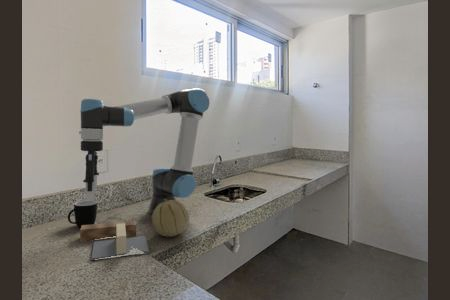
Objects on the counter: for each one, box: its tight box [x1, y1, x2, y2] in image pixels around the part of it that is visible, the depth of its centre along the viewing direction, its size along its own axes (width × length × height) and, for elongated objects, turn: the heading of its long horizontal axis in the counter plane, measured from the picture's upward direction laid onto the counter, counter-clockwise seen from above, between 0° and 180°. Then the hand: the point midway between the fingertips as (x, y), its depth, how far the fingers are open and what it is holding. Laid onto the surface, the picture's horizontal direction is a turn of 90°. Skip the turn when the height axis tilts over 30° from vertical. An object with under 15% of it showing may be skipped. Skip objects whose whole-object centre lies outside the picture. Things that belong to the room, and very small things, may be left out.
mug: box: [67, 199, 98, 228], centre depth 114 cm, size 12×9×10 cm
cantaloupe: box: [151, 199, 190, 238], centre depth 108 cm, size 15×15×15 cm
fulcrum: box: [90, 223, 150, 261], centre depth 95 cm, size 18×14×7 cm
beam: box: [79, 220, 137, 243], centre depth 105 cm, size 20×5×5 cm, turn 113°
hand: (91, 195), depth 102 cm, fingers open, 13 cm apart
